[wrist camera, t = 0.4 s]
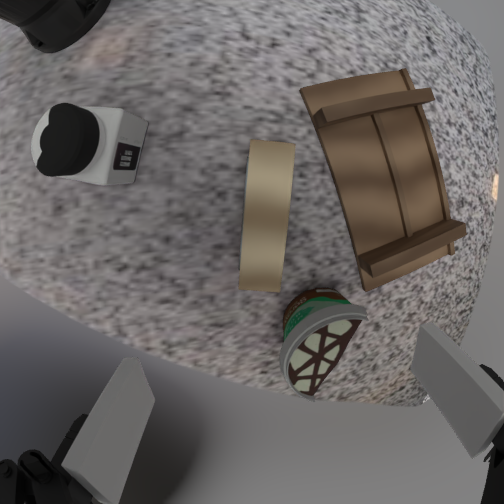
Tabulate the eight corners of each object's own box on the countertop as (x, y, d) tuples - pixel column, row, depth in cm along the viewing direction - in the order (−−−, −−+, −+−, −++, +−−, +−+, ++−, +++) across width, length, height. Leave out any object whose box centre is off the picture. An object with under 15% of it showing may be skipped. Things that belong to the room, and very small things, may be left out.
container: (149, 121, 29) (95, 94, 16) (134, 183, 30) (73, 190, 18) (98, 116, 28) (34, 96, 15) (84, 174, 30) (16, 178, 17)
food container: (298, 262, 33) (317, 296, 24) (341, 279, 34) (371, 315, 24) (258, 343, 36) (261, 394, 26) (299, 355, 37) (312, 405, 27)
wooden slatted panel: (299, 90, 28) (307, 76, 23) (399, 72, 27) (418, 60, 22) (363, 289, 34) (378, 305, 29) (447, 250, 33) (468, 260, 28)
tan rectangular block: (248, 147, 30) (248, 139, 23) (286, 151, 30) (297, 144, 23) (239, 266, 33) (236, 289, 27) (275, 269, 34) (281, 292, 27)
